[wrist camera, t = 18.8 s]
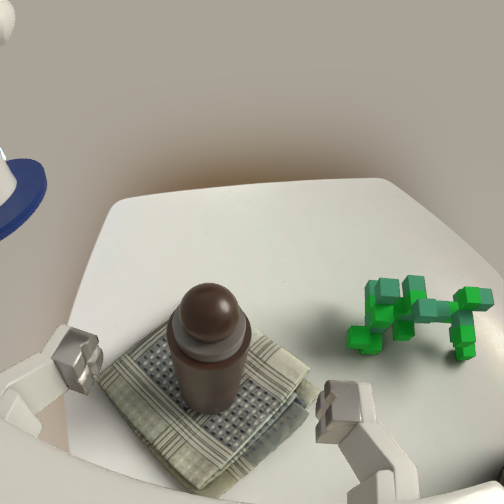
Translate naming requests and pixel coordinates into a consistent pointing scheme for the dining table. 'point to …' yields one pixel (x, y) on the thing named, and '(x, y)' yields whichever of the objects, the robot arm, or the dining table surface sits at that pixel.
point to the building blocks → (417, 314)
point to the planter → (501, 477)
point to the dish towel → (209, 426)
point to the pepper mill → (209, 347)
